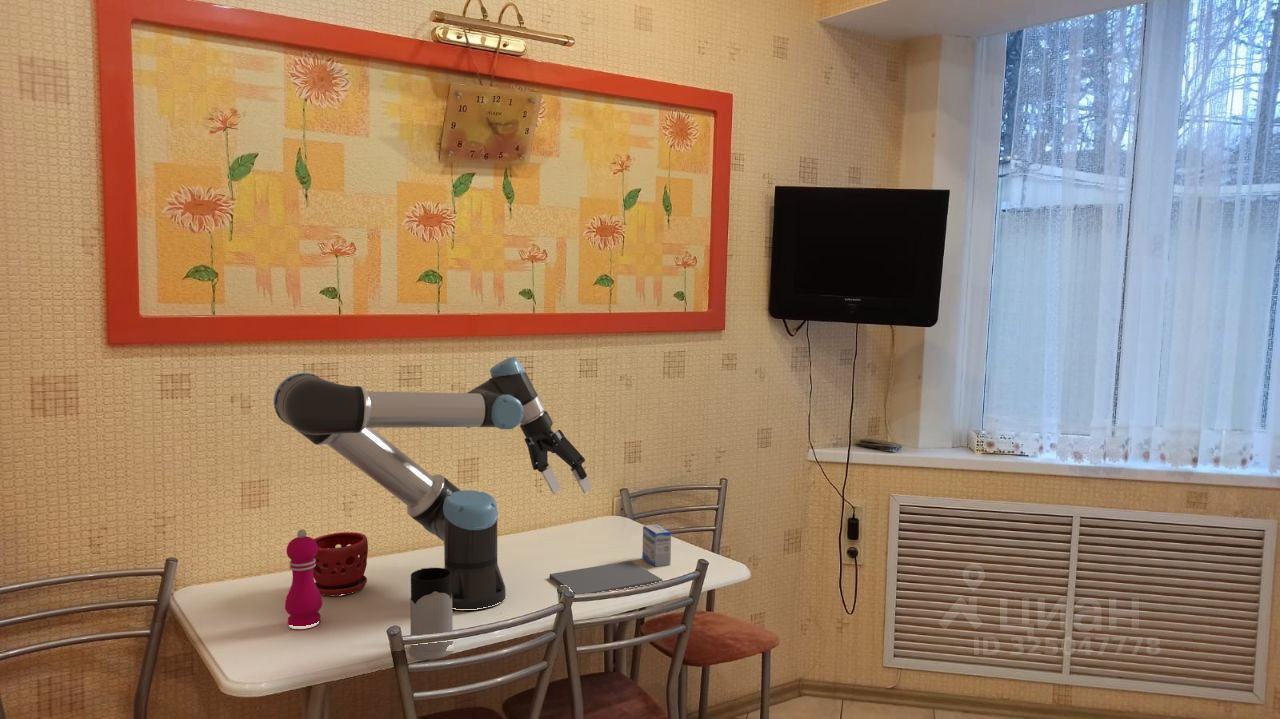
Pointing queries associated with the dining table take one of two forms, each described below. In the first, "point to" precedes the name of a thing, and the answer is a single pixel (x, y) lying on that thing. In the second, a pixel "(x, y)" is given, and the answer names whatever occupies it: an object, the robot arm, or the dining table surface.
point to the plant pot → (340, 563)
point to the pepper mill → (303, 582)
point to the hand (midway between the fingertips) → (572, 490)
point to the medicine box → (656, 545)
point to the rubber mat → (605, 577)
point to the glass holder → (431, 610)
